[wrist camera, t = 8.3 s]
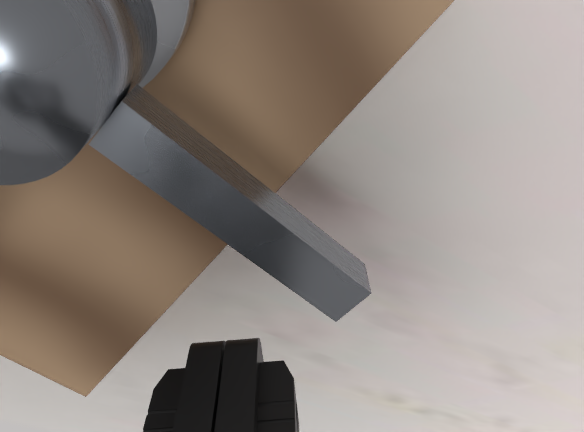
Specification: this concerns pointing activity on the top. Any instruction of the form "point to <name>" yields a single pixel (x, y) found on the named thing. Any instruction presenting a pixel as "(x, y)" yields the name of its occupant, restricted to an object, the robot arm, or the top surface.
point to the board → (159, 212)
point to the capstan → (148, 134)
